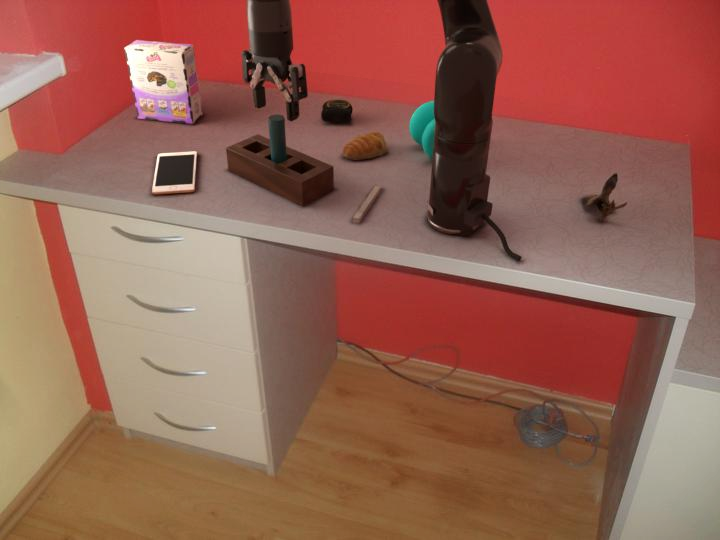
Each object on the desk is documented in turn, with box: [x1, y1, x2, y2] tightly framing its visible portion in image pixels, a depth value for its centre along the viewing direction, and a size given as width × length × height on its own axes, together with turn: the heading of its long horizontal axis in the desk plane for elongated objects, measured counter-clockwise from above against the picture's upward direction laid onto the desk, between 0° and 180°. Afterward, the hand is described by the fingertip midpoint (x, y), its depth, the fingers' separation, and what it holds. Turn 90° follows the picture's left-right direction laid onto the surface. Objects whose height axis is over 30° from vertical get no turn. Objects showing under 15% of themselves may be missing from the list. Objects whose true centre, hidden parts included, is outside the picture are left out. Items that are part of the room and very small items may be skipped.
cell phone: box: [151, 150, 198, 195], centre depth 138 cm, size 8×16×1 cm, turn 9°
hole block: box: [225, 133, 335, 207], centre depth 136 cm, size 8×21×5 cm, turn 49°
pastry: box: [342, 130, 389, 161], centre depth 146 cm, size 9×7×4 cm
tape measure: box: [320, 99, 353, 124], centre depth 159 cm, size 7×7×4 cm
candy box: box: [123, 39, 203, 125], centre depth 156 cm, size 14×6×16 cm, turn 77°
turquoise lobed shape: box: [408, 100, 435, 160], centre depth 144 cm, size 10×10×10 cm
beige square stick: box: [352, 185, 382, 224], centre depth 129 cm, size 12×1×1 cm, turn 160°
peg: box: [267, 113, 287, 164], centre depth 133 cm, size 3×3×13 cm
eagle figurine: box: [580, 172, 628, 222], centre depth 127 cm, size 8×7×9 cm
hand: (276, 113), depth 129 cm, fingers open, 8 cm apart
